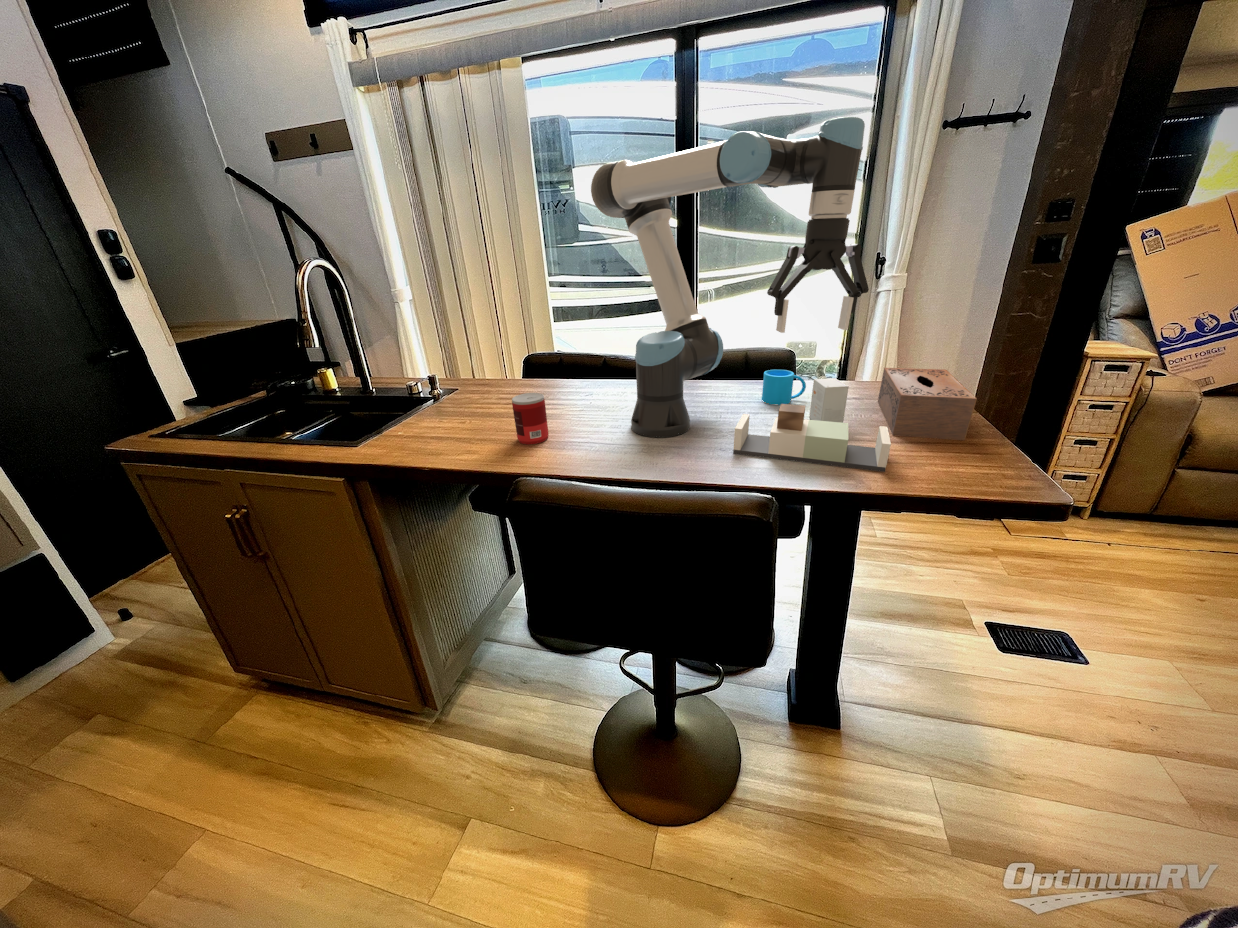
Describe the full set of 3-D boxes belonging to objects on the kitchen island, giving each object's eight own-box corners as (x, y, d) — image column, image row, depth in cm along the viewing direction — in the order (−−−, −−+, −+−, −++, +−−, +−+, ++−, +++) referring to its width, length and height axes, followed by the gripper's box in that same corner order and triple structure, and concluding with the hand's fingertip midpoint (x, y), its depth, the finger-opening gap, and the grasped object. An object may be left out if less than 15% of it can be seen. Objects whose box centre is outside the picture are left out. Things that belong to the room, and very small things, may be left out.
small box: (842, 428, 116) (849, 386, 111) (819, 428, 116) (825, 387, 111) (830, 417, 123) (836, 377, 118) (808, 417, 123) (813, 378, 118)
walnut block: (776, 428, 101) (778, 410, 99) (779, 420, 105) (781, 403, 103) (801, 430, 99) (803, 413, 97) (803, 423, 103) (805, 405, 102)
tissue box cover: (877, 402, 132) (884, 367, 128) (936, 405, 127) (945, 369, 123) (892, 436, 110) (901, 395, 106) (964, 441, 105) (976, 398, 101)
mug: (764, 405, 134) (766, 377, 130) (759, 396, 141) (761, 369, 138) (807, 404, 133) (811, 376, 129) (800, 396, 140) (803, 369, 137)
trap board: (733, 453, 105) (734, 428, 102) (741, 437, 113) (743, 413, 110) (884, 472, 93) (890, 444, 91) (882, 452, 102) (887, 426, 99)
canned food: (554, 435, 120) (550, 393, 116) (537, 446, 114) (531, 403, 109) (530, 431, 123) (524, 391, 119) (511, 443, 117) (505, 400, 112)
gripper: (772, 218, 86) (760, 336, 96) (903, 215, 87) (878, 331, 97) (758, 219, 93) (748, 329, 102) (880, 216, 94) (859, 324, 104)
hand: (811, 330), depth 100 cm, fingers open, 13 cm apart
